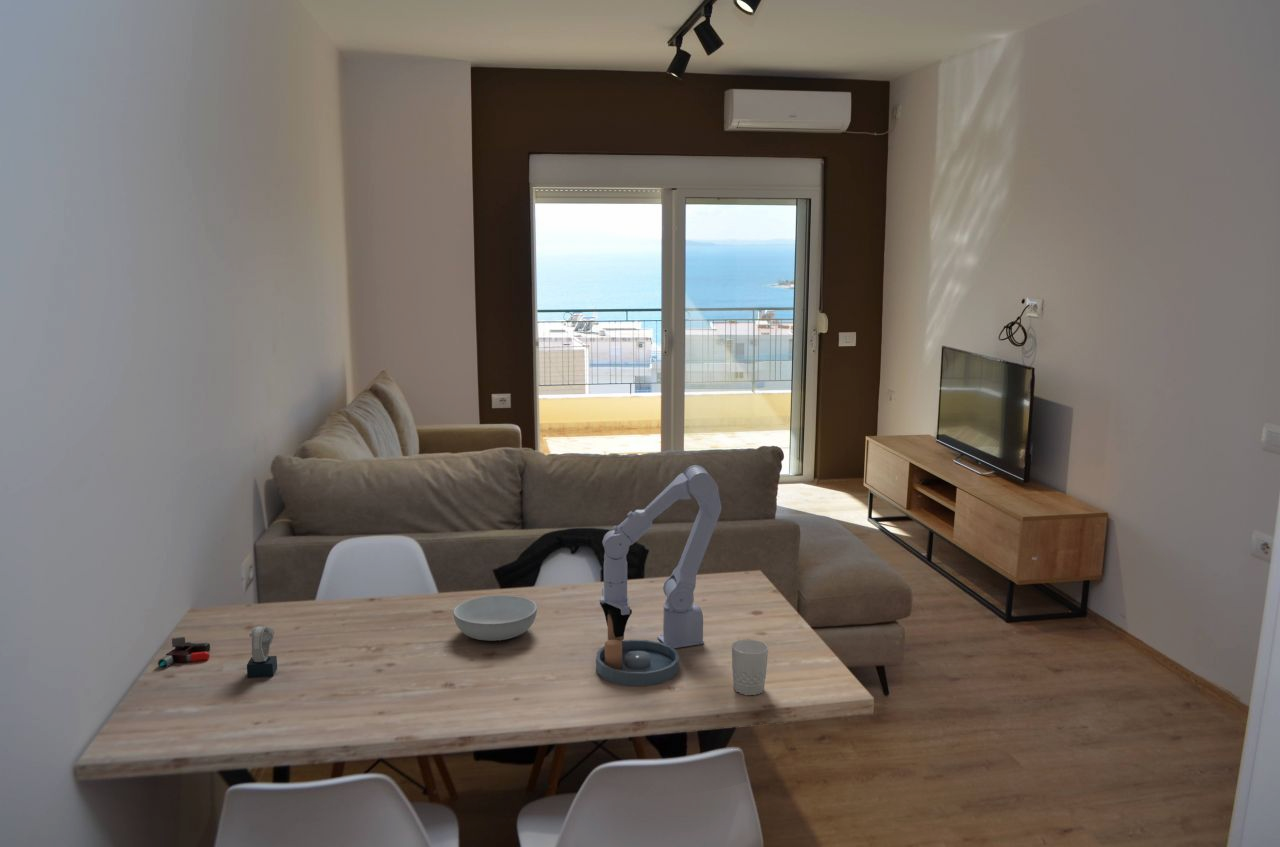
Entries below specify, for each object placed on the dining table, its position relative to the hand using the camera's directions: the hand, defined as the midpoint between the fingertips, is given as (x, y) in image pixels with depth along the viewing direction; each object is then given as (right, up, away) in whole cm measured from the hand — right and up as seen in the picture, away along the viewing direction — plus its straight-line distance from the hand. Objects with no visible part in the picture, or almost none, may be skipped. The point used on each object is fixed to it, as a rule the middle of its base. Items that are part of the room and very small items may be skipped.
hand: (615, 632), depth 234 cm
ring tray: (+5, -5, -13) cm, 15 cm away
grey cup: (+30, -7, -24) cm, 39 cm away
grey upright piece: (-80, -6, -17) cm, 82 cm away
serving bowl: (-31, -2, +7) cm, 31 cm away
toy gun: (-101, -5, -10) cm, 101 cm away
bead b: (0, -1, 0) cm, 2 cm away
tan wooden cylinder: (0, -5, -16) cm, 16 cm away
